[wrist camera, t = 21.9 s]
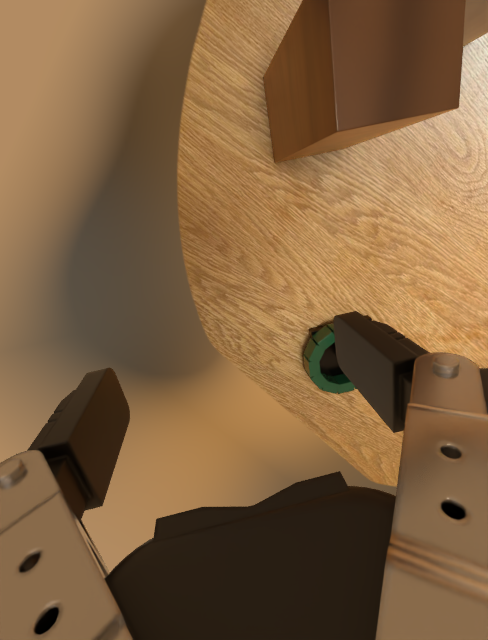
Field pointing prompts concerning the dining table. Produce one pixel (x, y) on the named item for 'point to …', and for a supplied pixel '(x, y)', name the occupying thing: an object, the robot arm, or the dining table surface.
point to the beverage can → (475, 20)
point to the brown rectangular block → (362, 72)
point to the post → (329, 356)
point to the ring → (312, 364)
